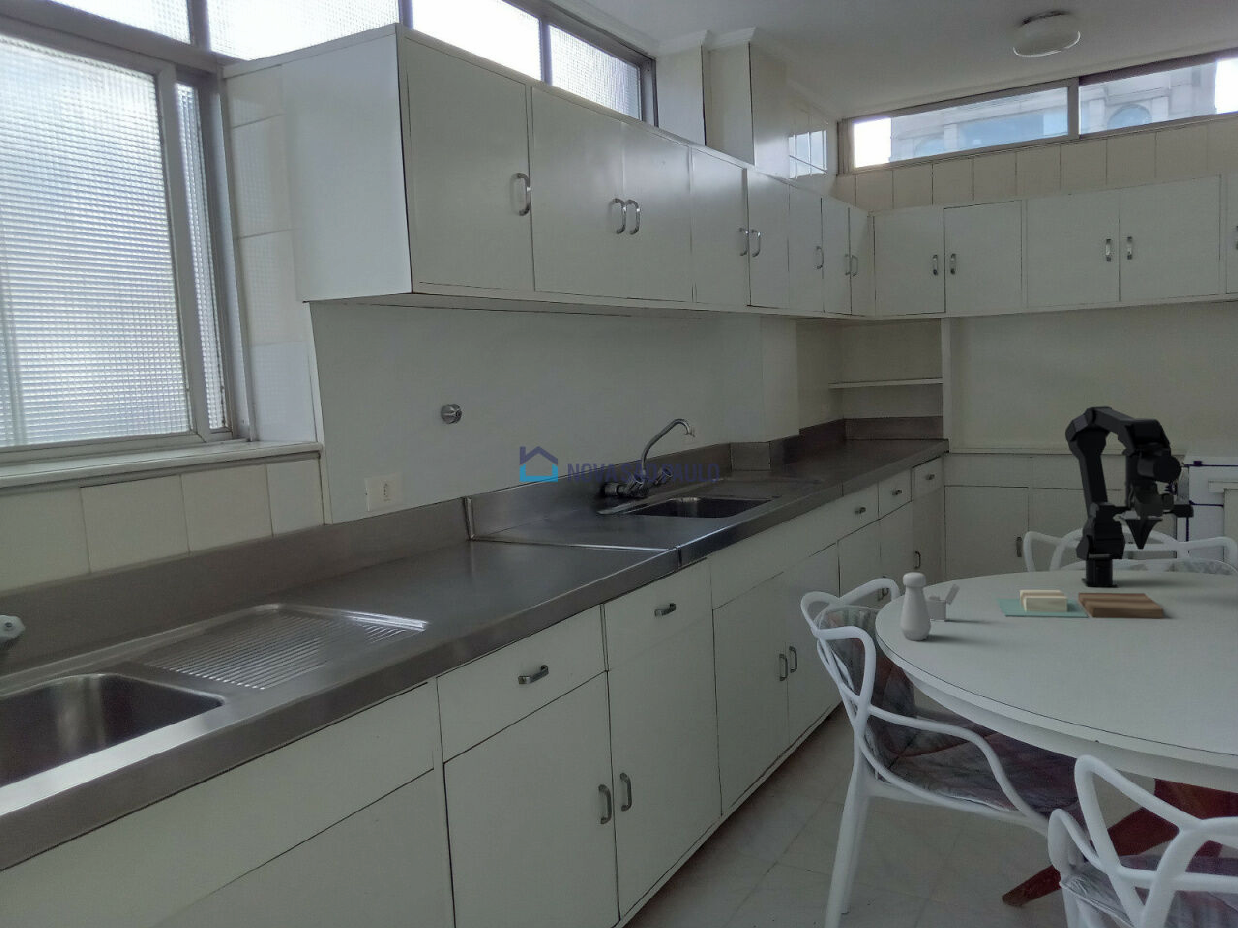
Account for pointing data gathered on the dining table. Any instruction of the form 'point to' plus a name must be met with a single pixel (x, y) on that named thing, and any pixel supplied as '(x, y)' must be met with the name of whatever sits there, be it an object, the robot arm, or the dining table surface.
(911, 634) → the salt shaker
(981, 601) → the dining table surface
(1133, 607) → the walnut board
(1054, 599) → the birch tile
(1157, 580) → the dining table surface
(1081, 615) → the rubber mat
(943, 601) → the lighter
